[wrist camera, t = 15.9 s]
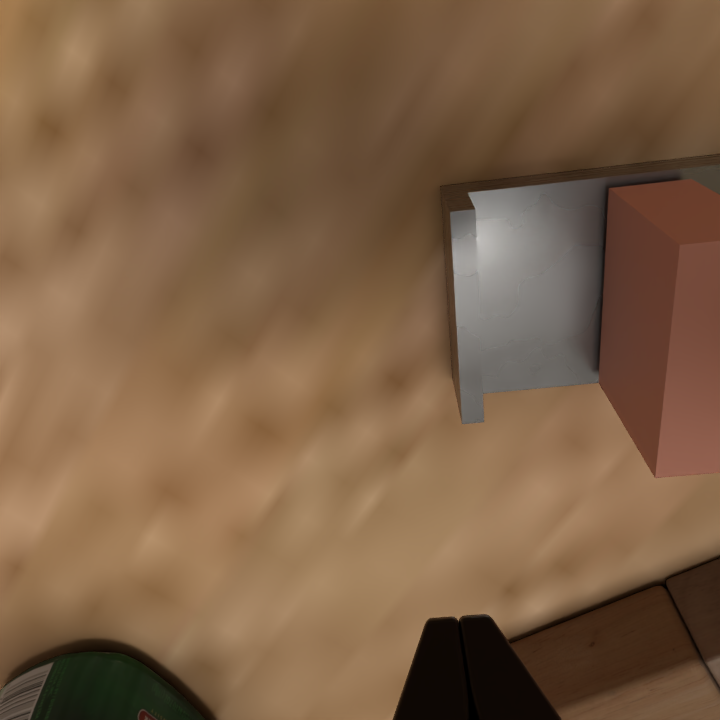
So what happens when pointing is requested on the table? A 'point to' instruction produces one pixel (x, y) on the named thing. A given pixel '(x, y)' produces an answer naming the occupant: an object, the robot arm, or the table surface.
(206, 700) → the table surface
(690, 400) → the block
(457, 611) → the table surface
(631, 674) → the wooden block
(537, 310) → the vise
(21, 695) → the coffee jar
